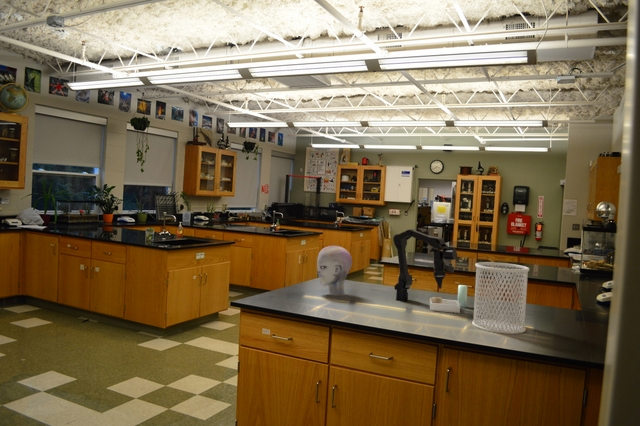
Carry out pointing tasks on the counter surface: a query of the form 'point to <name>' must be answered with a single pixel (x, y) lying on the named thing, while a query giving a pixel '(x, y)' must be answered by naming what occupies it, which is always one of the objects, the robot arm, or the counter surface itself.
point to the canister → (462, 295)
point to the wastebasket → (496, 323)
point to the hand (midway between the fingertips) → (440, 287)
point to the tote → (445, 306)
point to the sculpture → (334, 268)
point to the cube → (437, 300)
